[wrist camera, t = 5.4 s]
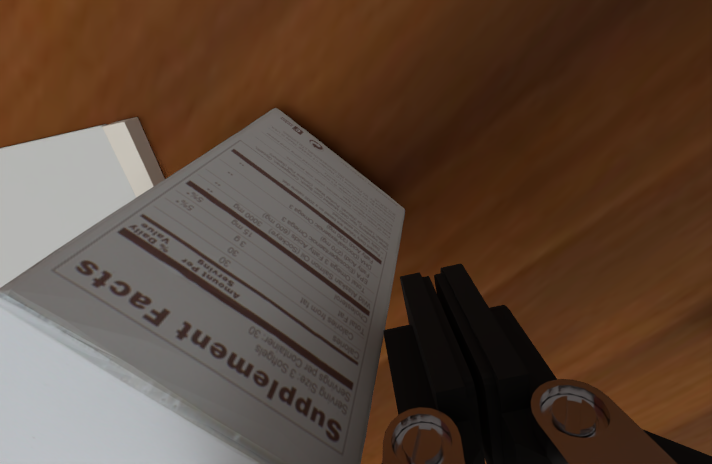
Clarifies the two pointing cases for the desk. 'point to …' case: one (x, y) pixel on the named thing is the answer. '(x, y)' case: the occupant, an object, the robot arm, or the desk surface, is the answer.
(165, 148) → the desk surface
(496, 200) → the desk surface
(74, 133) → the mat
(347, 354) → the supplement box
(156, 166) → the strip
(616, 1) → the desk surface
